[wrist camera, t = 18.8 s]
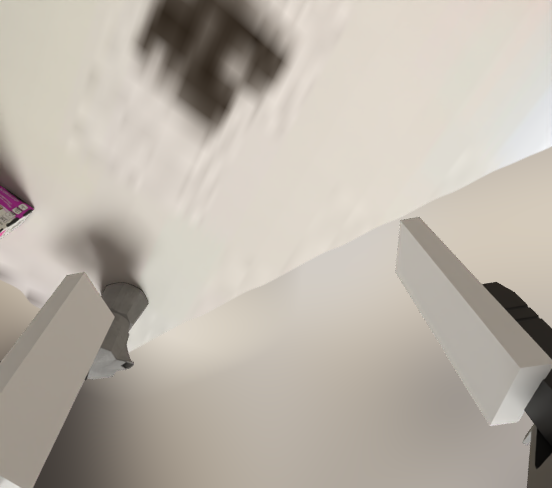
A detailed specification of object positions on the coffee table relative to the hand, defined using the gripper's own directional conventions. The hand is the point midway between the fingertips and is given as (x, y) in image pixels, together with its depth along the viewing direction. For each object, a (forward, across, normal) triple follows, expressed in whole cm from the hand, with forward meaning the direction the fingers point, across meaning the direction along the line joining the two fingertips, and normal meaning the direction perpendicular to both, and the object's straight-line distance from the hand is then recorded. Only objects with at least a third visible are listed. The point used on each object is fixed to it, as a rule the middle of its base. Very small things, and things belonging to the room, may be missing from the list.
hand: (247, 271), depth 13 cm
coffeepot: (+37, -33, -31) cm, 59 cm away
